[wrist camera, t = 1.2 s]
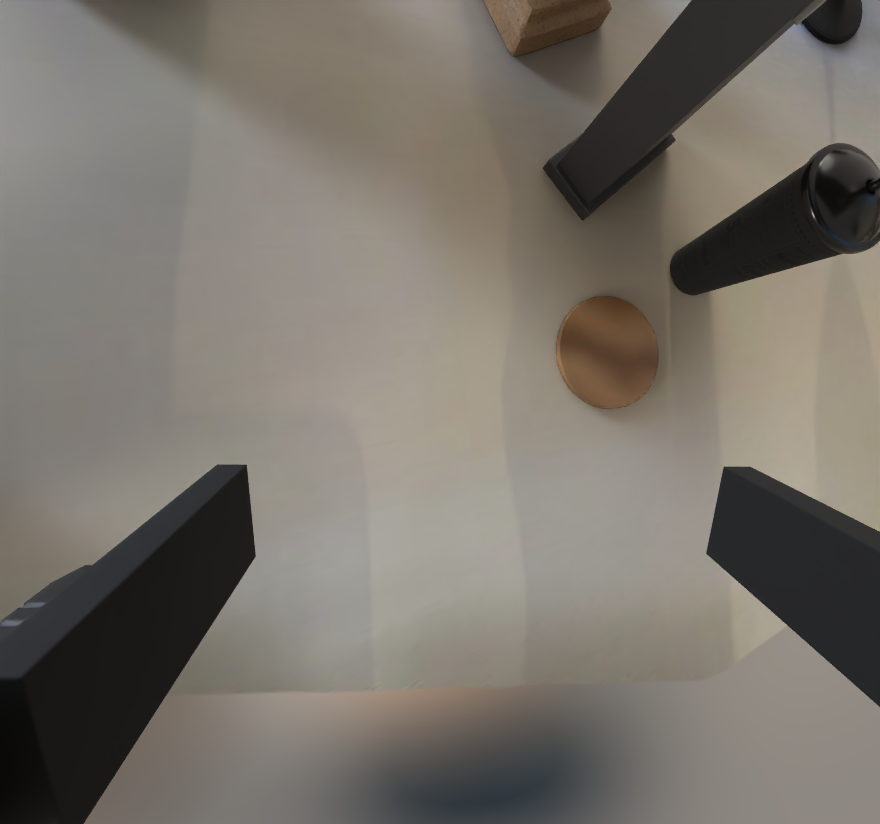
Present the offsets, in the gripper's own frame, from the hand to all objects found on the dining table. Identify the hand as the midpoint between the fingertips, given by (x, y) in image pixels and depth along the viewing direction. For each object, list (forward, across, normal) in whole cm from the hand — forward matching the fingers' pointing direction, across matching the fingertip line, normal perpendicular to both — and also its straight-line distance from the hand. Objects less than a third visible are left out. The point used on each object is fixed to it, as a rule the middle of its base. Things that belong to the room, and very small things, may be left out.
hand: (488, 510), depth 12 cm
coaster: (+28, +15, +1) cm, 32 cm away
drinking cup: (+33, +25, +9) cm, 42 cm away
